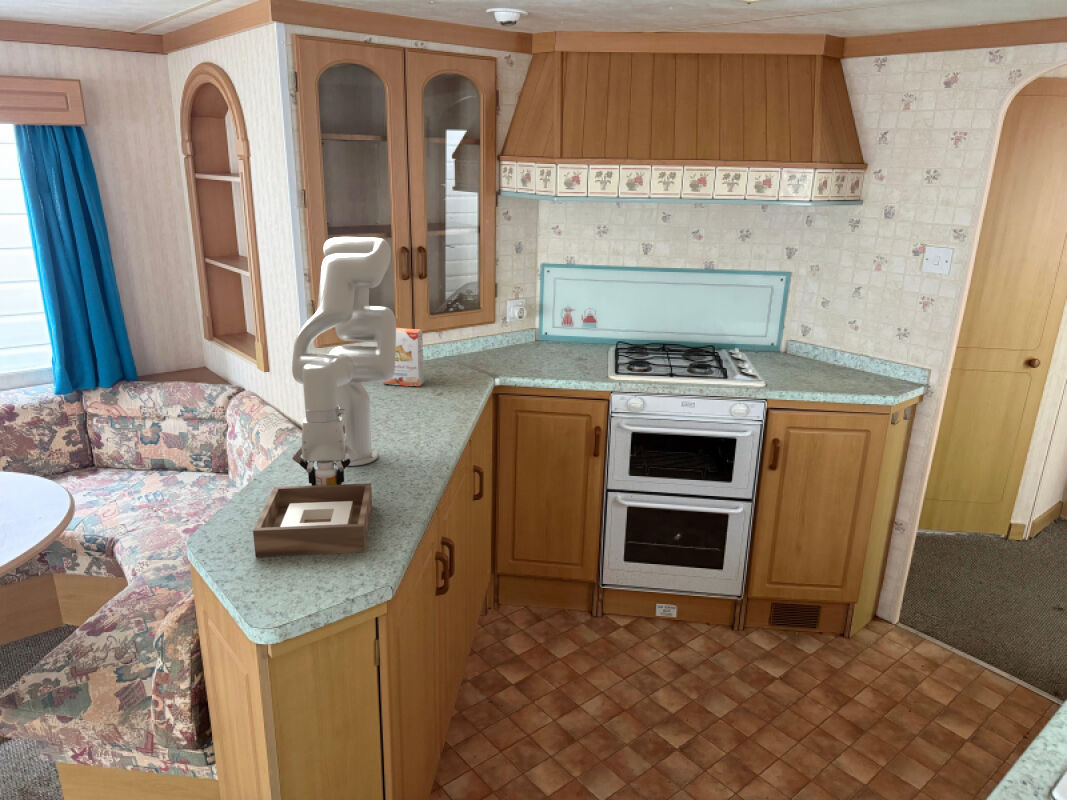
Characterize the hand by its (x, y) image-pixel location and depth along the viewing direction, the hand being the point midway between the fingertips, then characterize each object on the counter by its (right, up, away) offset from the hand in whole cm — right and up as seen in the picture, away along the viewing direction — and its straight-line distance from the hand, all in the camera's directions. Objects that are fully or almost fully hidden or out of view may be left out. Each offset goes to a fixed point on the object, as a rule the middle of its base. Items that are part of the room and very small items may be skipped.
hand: (327, 484), depth 180 cm
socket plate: (+2, -8, -15) cm, 17 cm away
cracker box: (+2, +26, +97) cm, 100 cm away
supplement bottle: (0, -4, +1) cm, 4 cm away
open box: (+2, -8, -15) cm, 17 cm away
